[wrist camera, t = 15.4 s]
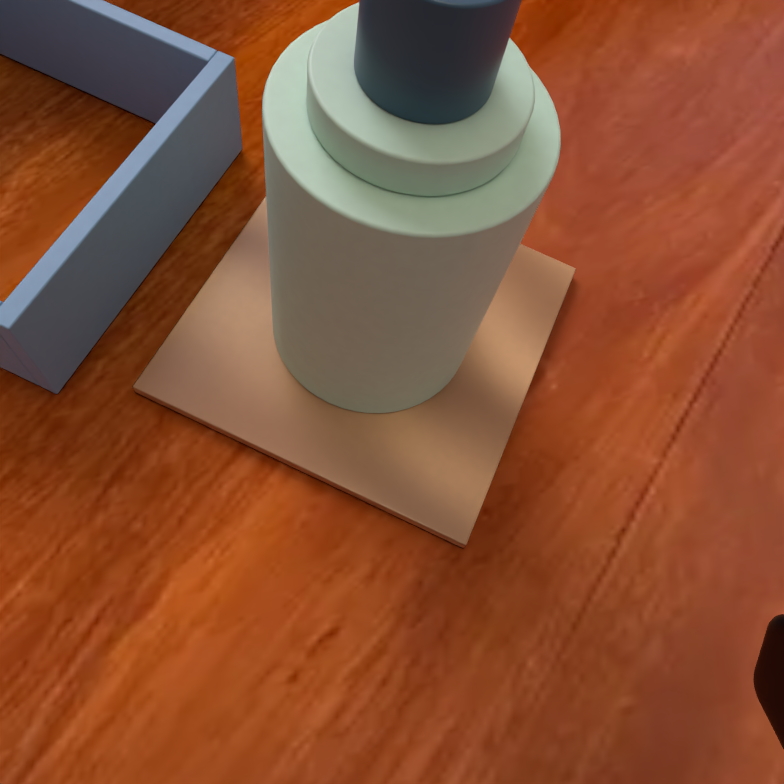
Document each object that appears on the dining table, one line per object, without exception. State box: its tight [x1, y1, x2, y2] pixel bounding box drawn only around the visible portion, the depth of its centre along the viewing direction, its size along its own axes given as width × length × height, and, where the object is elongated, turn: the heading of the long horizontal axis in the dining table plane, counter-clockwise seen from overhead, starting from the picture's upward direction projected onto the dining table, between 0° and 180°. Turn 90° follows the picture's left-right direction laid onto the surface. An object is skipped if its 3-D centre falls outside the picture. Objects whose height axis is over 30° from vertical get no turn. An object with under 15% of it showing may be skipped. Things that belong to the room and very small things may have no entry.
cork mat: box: [133, 197, 576, 548], centre depth 23 cm, size 11×11×1 cm
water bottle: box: [262, 0, 561, 413], centre depth 17 cm, size 6×6×12 cm
